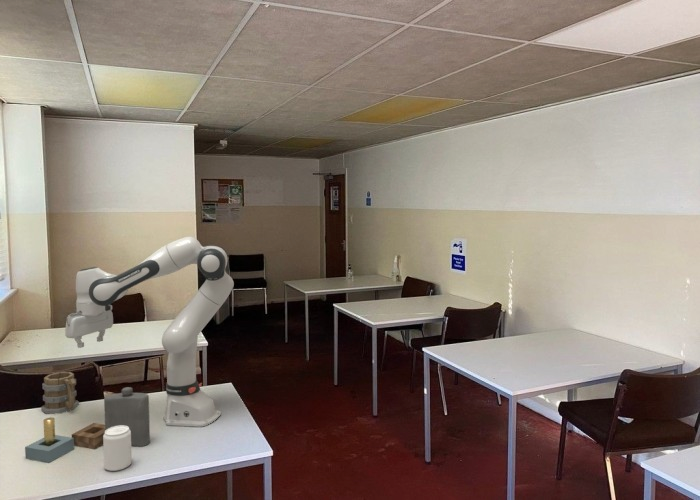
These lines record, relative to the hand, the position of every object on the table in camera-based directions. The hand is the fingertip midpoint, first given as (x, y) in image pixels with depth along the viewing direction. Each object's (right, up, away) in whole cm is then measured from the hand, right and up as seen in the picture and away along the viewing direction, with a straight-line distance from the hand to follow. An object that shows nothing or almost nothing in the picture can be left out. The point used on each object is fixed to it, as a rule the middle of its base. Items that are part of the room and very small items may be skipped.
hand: (90, 344), depth 190 cm
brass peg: (-1, -33, -23) cm, 40 cm away
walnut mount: (+9, -32, -14) cm, 36 cm away
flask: (+22, -33, -16) cm, 42 cm away
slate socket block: (-1, -33, -23) cm, 40 cm away
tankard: (-18, -30, +14) cm, 38 cm away
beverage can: (+26, -34, -31) cm, 53 cm away
